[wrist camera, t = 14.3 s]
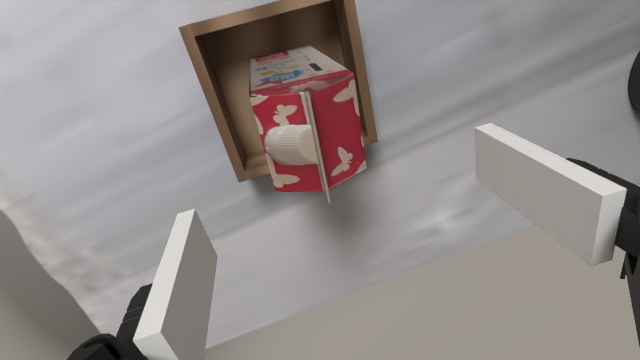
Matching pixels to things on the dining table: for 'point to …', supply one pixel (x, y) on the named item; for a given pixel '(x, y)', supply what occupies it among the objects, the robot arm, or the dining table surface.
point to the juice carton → (306, 119)
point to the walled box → (264, 38)
